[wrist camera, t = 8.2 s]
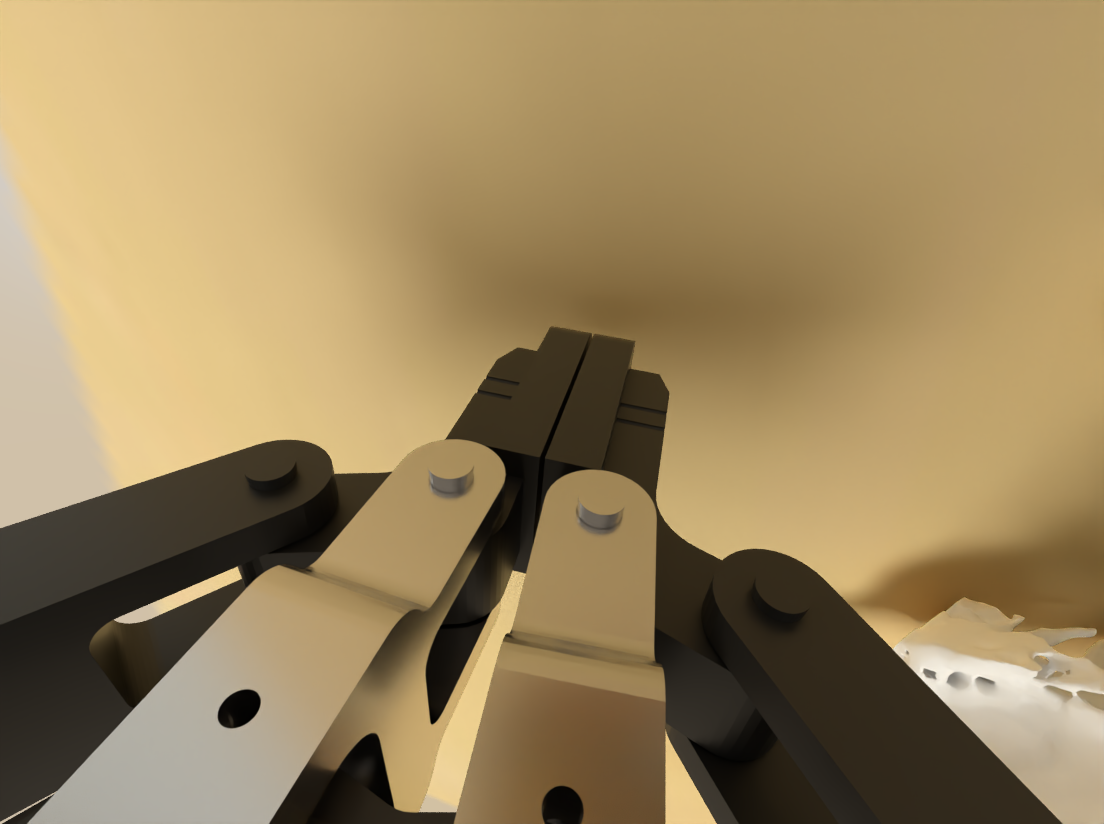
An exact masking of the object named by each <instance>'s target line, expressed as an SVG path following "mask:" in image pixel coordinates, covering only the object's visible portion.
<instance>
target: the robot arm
mask: <svg viewBox="0 0 1104 824" xmlns="http://www.w3.org/2000/svg"><path fill="white" fill-rule="evenodd" d="M634 347H635V341H631V340H625V339H620V338H614V337H609V336H603V335H598V334H594V336H593V338H592V333H586V332H581V331H575V330H570V329H564V328H559V327H554V326H551V327H550V329H549V331H548V332H547V334H546V336H545V338H544V340H543V342H542V343H541V345H540V347H539V349H538V351H533V350H528V349H523V348H516V349H514V350H513V351H511V352H509V353H508V354H506V355H504V356H502V357H501V358H499V359H497V361H496V362H495V364H494V365H493V367H492V368H491V370H490V372H489V373H488V375H487V377H486V379H484V381H483V382H482V384H481V385H480V387H479V388H478V392H477V393H475V395H474V396H473V398H472V399H471V401H470V402H469V404H468V405H467V407H466V408H465V410H464V412H463V413H462V415H461V416H460V418H459V419H458V421H457V422H456V424H455V425H454V427H453V428H452V430H451V432H450V433H449V435H448V436H447V438H446V439H445V440H440V441H435V442H431V443H428V444H425V445H423V446H421V447H419V448H417V449H415V450H413V451H412V452H411V453H409V454H408V455H407V456H406V457H405V458H404V459H403V460H402V461H401V462H400V464H399V465H398V466H397V467H396V468H395V469H394V471H393V472H386V473H353V474H334V470H333V465H332V460H331V458H330V456H329V455H328V454H327V453H326V451H325V450H323V449H322V448H320V447H319V446H317V445H315V444H312V443H309V442H305V441H299V440H277V441H271V442H266V443H262V444H258V445H255V446H252V447H249V448H246V449H243V450H240V451H237V452H233V453H230V454H227V455H224V456H221V457H218V458H215V459H212V460H209V461H206V462H203V463H200V464H197V465H194V466H191V467H187V468H184V469H181V470H178V471H175V472H172V473H169V474H166V475H163V476H160V477H157V478H154V479H151V480H148V481H145V482H141V483H138V484H135V485H132V486H129V487H126V488H123V489H120V490H117V491H114V492H111V493H108V494H105V495H102V496H99V497H95V498H93V499H89V500H86V501H83V502H81V503H77V504H74V505H71V506H68V507H65V508H62V509H59V510H56V511H53V512H49V513H46V514H43V515H40V516H37V517H34V518H31V519H28V520H25V521H22V522H19V523H16V524H13V525H10V526H6V527H4V528H0V821H2V820H4V819H6V818H8V817H10V816H11V815H13V814H15V813H17V812H19V811H21V810H23V809H24V808H26V807H28V806H30V805H32V804H34V803H35V802H37V801H39V800H41V799H43V798H45V797H47V796H49V795H50V794H52V793H54V792H56V791H57V792H56V793H55V794H53V795H52V796H50V797H48V798H47V799H45V800H43V801H41V802H39V803H38V804H36V805H34V806H32V807H31V808H29V809H27V810H25V811H24V812H22V813H20V814H18V815H16V816H15V817H13V818H11V819H9V820H8V821H6V822H4V823H2V824H665V729H666V732H667V735H668V738H669V740H670V742H671V744H672V746H673V748H674V749H675V751H676V753H677V755H678V756H679V758H680V760H681V762H682V763H683V765H684V767H685V769H686V770H687V772H688V774H689V776H690V777H691V779H692V781H693V783H694V784H695V786H696V788H697V790H698V791H699V793H700V795H701V797H702V798H703V800H704V802H705V804H706V805H707V807H708V809H709V811H710V812H711V814H712V816H713V818H714V819H715V821H716V823H717V824H1062V822H1061V821H1060V820H1059V819H1058V818H1057V817H1056V816H1055V815H1054V814H1053V813H1052V812H1051V811H1050V810H1049V809H1048V808H1047V807H1046V806H1045V805H1044V804H1043V803H1042V802H1041V801H1040V800H1039V799H1038V798H1037V797H1036V796H1035V795H1034V794H1033V793H1032V792H1031V791H1030V790H1029V789H1028V788H1027V787H1026V786H1025V785H1024V784H1023V783H1022V782H1021V780H1020V779H1019V778H1018V777H1017V776H1016V775H1015V774H1014V773H1013V772H1012V771H1011V770H1010V769H1009V768H1008V767H1007V766H1006V765H1005V764H1004V763H1003V762H1002V761H1001V760H1000V759H999V758H998V757H997V756H996V755H995V754H994V753H993V752H992V751H991V750H990V749H989V748H988V747H987V746H986V745H985V744H984V743H983V742H982V741H981V740H980V738H979V737H978V736H977V735H976V734H975V733H974V732H973V731H972V730H971V729H970V728H969V727H968V726H967V725H966V724H965V723H964V722H963V721H962V720H961V719H960V718H959V717H958V716H957V715H956V714H955V713H954V712H953V711H952V710H951V709H950V708H949V707H948V706H947V705H946V704H945V703H944V702H943V701H942V700H941V699H940V698H939V696H938V695H937V694H936V693H935V692H934V691H933V690H932V689H931V688H930V687H929V686H928V685H927V684H926V683H925V682H924V681H923V680H922V679H921V678H920V677H919V676H918V675H917V674H916V673H915V672H914V671H913V670H912V669H911V668H910V667H909V666H908V665H907V664H906V663H905V662H904V661H903V660H902V659H901V658H900V657H899V656H898V654H897V653H896V652H895V651H894V650H893V649H892V648H891V647H890V646H889V645H888V644H887V643H886V642H885V641H884V640H883V639H882V638H881V637H880V636H879V635H878V634H877V633H876V632H875V631H874V630H873V629H872V628H871V627H870V626H869V625H868V624H867V623H866V622H865V621H864V620H863V619H862V618H861V617H860V616H859V615H858V614H857V612H856V611H855V610H854V609H853V608H852V607H851V606H850V605H849V604H848V603H847V602H846V601H845V600H844V599H843V598H842V597H841V596H840V595H839V594H838V593H837V592H836V591H835V590H834V589H833V588H832V587H831V586H830V585H829V584H828V583H827V582H826V581H825V580H824V579H823V578H822V577H821V576H820V575H819V574H818V573H817V572H815V571H814V570H812V569H811V568H810V567H808V566H807V565H805V564H803V563H802V562H800V561H798V560H796V559H794V558H792V557H790V556H787V555H785V554H782V553H779V552H775V551H770V550H765V549H747V550H742V551H738V552H735V553H733V554H731V555H729V556H727V557H726V558H725V559H723V560H720V559H718V558H716V557H714V556H712V555H710V554H708V553H706V552H704V551H702V550H700V549H698V548H697V547H695V546H693V545H691V544H690V543H688V542H686V541H685V540H684V539H682V538H681V537H680V536H678V535H677V534H676V533H675V532H674V531H673V530H672V529H671V528H670V527H669V526H668V524H667V523H666V522H665V521H664V519H663V517H662V516H661V514H660V512H659V509H658V507H657V502H656V489H657V482H658V474H659V467H660V459H661V452H662V444H663V437H664V429H665V422H666V413H667V407H668V400H669V391H668V389H667V388H666V386H665V384H664V382H663V380H662V378H661V376H660V375H659V374H655V373H649V372H644V371H639V370H634V369H631V363H632V358H633V353H634ZM237 566H238V569H239V572H240V574H241V577H242V579H241V580H238V581H236V582H234V583H232V584H229V585H227V586H225V587H222V588H220V589H218V590H216V591H213V592H211V593H209V594H207V595H204V596H202V597H200V598H197V599H195V600H193V601H191V602H188V603H186V604H184V605H182V606H179V607H177V608H175V609H172V610H170V611H168V612H166V613H163V614H161V615H159V616H157V617H154V618H152V619H149V620H147V621H143V622H140V623H132V624H124V623H119V622H116V621H114V619H116V618H118V617H120V616H122V615H125V614H127V613H129V612H132V611H134V610H136V609H139V608H141V607H143V606H146V605H148V604H150V603H153V602H155V601H157V600H160V599H162V598H164V597H167V596H169V595H172V594H174V593H176V592H179V591H181V590H183V589H186V588H188V587H190V586H193V585H195V584H197V583H200V582H202V581H204V580H207V579H209V578H211V577H214V576H216V575H218V574H221V573H223V572H225V571H228V570H230V569H232V568H235V567H237ZM512 570H514V571H518V572H522V573H526V576H525V580H524V584H523V588H522V592H521V596H520V600H519V604H518V608H517V612H516V616H515V619H514V623H513V627H512V630H511V632H510V633H507V634H506V635H505V637H504V639H503V642H502V644H501V647H500V651H499V654H498V657H497V661H496V664H495V668H494V672H493V676H492V680H491V683H490V687H489V691H488V695H487V699H486V702H485V706H484V710H483V714H482V718H481V722H480V725H479V729H478V733H477V737H476V741H475V744H474V748H473V752H472V756H471V760H470V763H469V767H468V771H467V775H466V779H465V782H464V786H463V790H462V794H461V798H460V802H459V805H458V809H457V812H455V813H454V812H450V813H447V812H439V813H438V812H437V813H436V812H419V811H420V808H421V806H422V803H423V801H424V798H425V796H426V793H427V790H428V787H429V784H430V781H431V777H432V774H433V770H434V766H435V761H436V756H437V752H438V749H439V746H440V743H441V740H442V737H443V735H444V732H445V730H446V728H447V726H448V723H449V721H450V719H451V717H452V715H453V713H454V711H455V708H456V706H457V704H458V702H459V700H460V698H461V695H462V693H463V691H464V689H465V687H466V685H467V683H468V680H469V678H470V676H471V674H472V672H473V670H474V668H475V665H476V663H477V661H478V659H479V657H480V655H481V652H482V650H483V648H484V646H485V644H486V642H487V640H488V637H489V635H490V633H491V631H492V629H493V627H494V625H495V622H496V620H497V618H498V615H499V612H500V606H501V598H502V596H503V594H504V592H505V589H506V586H507V584H508V581H509V578H510V576H511V573H512Z"/></svg>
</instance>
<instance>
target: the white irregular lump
mask: <svg viewBox="0 0 1104 824" xmlns="http://www.w3.org/2000/svg"><path fill="white" fill-rule="evenodd" d="M1024 619H1025V618H1024V617H1022V616H1020V615H1014V617H1013V618H1012V619H1009V618H1008V617H1007V616H1005V615H1004V614H1003V613H1002V612H1001V611H1000V610H999V609H998V608H996V607H994V606H991V605H988V604H986V603H983V602H976V601H973V600H969V599H967V598H966V597H963V598H962V599H960V600H959V601H957V602H956V603H955V604H954V605H952V606H951V607H950V608H949V609H948V610H946V611H942V612H941V613H939V614H938V615H937V616H935V617H934V618H932V619H931V620H930V621H928V622H927V623H926V624H925V625H924V626H922V627H921V628H919V629H915V630H913V631H912V632H911V633H909V634H908V635H907V636H906V637H905V638H903V639H902V640H901V641H900V642H899V643H898V644H897V645H896V646H895V647H894V648H893V650H894V651H895V652H896V653H897V654H898V656H899V657H900V658H901V659H902V660H903V661H904V662H905V663H906V664H907V665H908V666H909V667H910V668H911V669H912V670H913V671H914V672H915V673H916V674H917V675H918V676H919V677H920V678H921V679H922V680H923V681H924V682H925V683H926V684H927V685H928V686H929V687H930V688H931V689H932V690H933V691H934V692H935V693H936V694H937V695H938V696H939V698H940V699H941V700H942V701H943V702H944V703H945V704H946V705H947V706H948V707H949V708H950V709H951V710H952V711H953V712H954V713H955V714H956V715H957V716H958V717H959V718H960V719H961V720H962V721H963V722H964V723H965V724H966V725H967V726H968V727H969V728H970V729H971V730H972V731H973V732H974V733H975V734H976V735H977V736H978V737H979V738H980V740H981V741H982V742H983V743H984V744H985V745H986V746H987V747H988V748H989V749H990V750H991V751H992V752H993V753H994V754H995V755H996V756H997V757H998V758H999V759H1000V760H1001V761H1002V762H1003V763H1004V764H1005V765H1006V766H1007V767H1008V768H1009V769H1010V770H1011V771H1012V772H1013V773H1014V774H1015V775H1016V776H1017V777H1018V778H1019V779H1020V780H1021V782H1022V783H1023V784H1024V785H1025V786H1026V787H1027V788H1028V789H1029V790H1030V791H1031V792H1032V793H1033V794H1034V795H1035V796H1036V797H1037V798H1038V799H1039V800H1040V801H1041V802H1042V803H1043V804H1044V805H1045V806H1046V807H1047V808H1048V809H1049V810H1050V811H1051V812H1052V813H1053V814H1054V815H1055V816H1056V817H1057V818H1058V819H1059V820H1060V821H1061V822H1062V824H1104V639H1101V640H1099V641H1097V642H1095V643H1094V645H1093V646H1091V647H1090V648H1088V649H1087V650H1086V653H1085V655H1084V656H1083V657H1079V658H1074V657H1069V656H1067V655H1065V654H1061V653H1058V652H1057V651H1055V650H1054V649H1053V648H1052V647H1051V646H1054V645H1057V644H1059V643H1061V642H1063V641H1065V640H1069V639H1071V638H1076V637H1093V636H1095V635H1096V632H1097V631H1096V629H1095V628H1087V629H1086V628H1080V627H1073V628H1064V629H1050V628H1039V629H1036V630H1033V631H1027V632H1015V631H1013V629H1014V628H1015V627H1016V626H1017V625H1019V624H1020V623H1021V622H1022V621H1023V620H1024ZM1040 655H1042V656H1045V657H1046V658H1047V659H1048V660H1046V659H1043V658H1041V657H1039V656H1040ZM1055 671H1056V672H1055Z"/></svg>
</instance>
